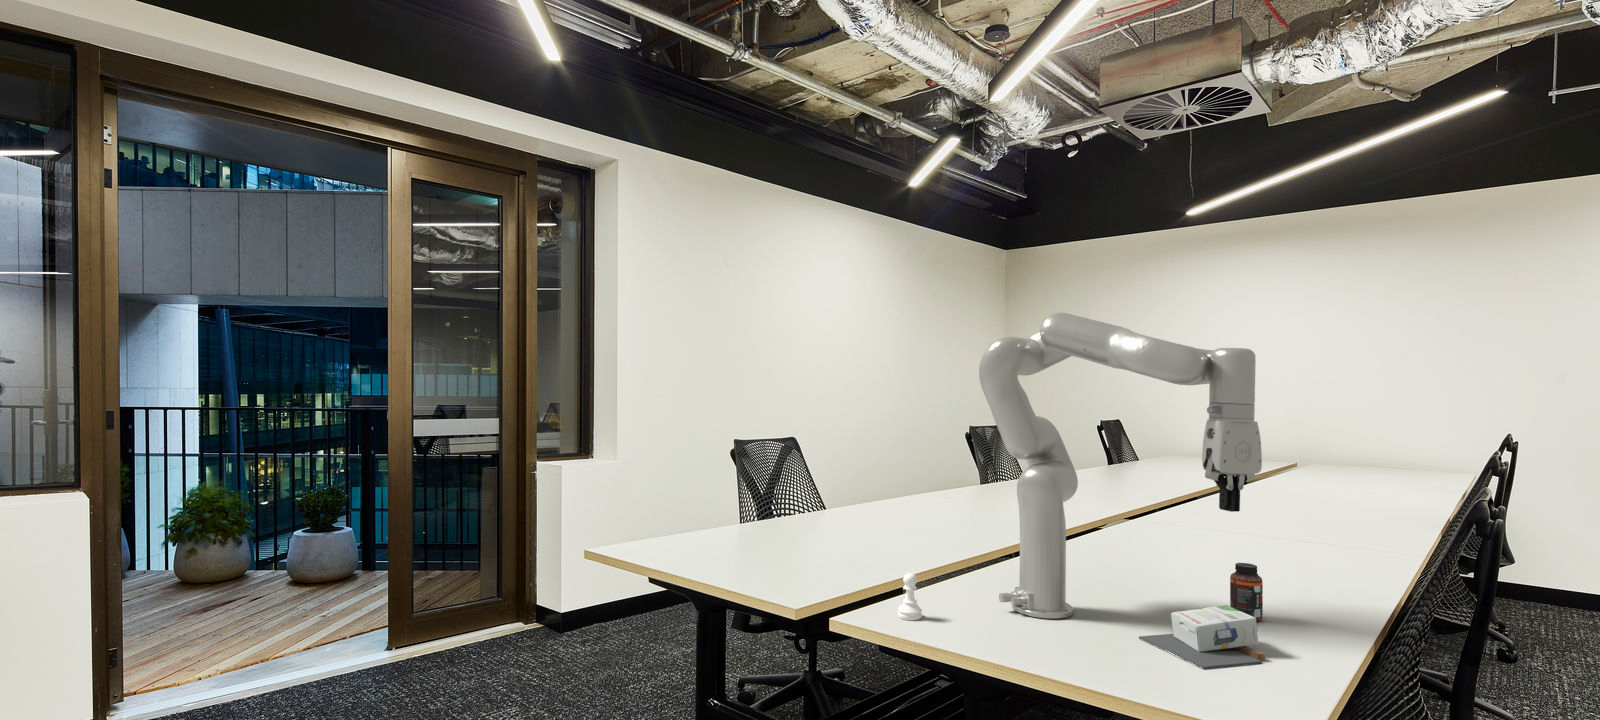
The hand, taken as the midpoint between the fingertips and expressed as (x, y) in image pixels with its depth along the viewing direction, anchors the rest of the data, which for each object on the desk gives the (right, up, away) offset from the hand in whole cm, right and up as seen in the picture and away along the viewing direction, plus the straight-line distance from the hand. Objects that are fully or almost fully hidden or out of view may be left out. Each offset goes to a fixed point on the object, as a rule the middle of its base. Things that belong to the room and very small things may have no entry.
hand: (1229, 510), depth 143 cm
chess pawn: (-58, -25, +14) cm, 65 cm away
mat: (-8, -25, -3) cm, 27 cm away
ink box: (+3, -22, 0) cm, 22 cm away
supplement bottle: (+13, -27, +17) cm, 34 cm away
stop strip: (-1, -26, -1) cm, 26 cm away
